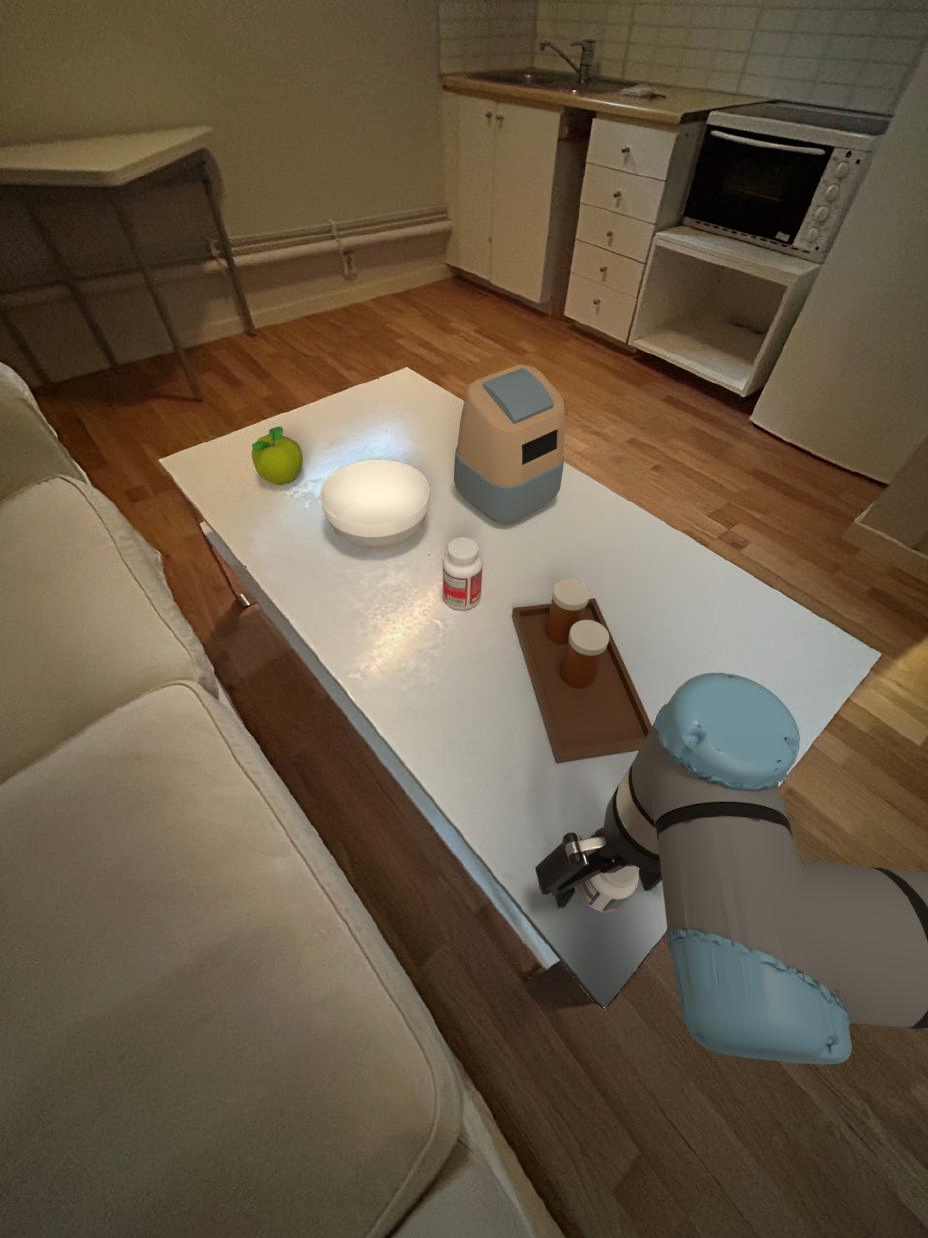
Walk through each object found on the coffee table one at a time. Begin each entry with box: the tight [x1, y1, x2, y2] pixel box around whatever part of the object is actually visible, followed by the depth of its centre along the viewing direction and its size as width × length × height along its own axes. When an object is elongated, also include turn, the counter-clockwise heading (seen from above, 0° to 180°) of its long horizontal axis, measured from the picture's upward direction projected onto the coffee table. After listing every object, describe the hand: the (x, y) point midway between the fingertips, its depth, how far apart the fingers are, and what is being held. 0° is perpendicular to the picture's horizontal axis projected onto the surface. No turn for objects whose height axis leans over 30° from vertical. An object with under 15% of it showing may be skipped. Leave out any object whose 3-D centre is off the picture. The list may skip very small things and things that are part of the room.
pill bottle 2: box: [578, 860, 640, 913], centre depth 57 cm, size 5×5×9 cm
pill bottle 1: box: [442, 536, 484, 611], centre depth 85 cm, size 6×6×11 cm
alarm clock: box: [453, 363, 566, 524], centre depth 98 cm, size 17×17×23 cm
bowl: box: [319, 458, 431, 550], centre depth 96 cm, size 19×19×9 cm
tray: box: [511, 597, 653, 764], centre depth 79 cm, size 26×14×2 cm, turn 10°
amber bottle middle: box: [560, 620, 609, 688], centre depth 75 cm, size 5×5×9 cm
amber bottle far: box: [546, 578, 591, 644], centre depth 80 cm, size 5×5×9 cm
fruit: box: [251, 426, 304, 486], centre depth 105 cm, size 9×9×10 cm
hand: (601, 886), depth 61 cm, fingers open, 9 cm apart
